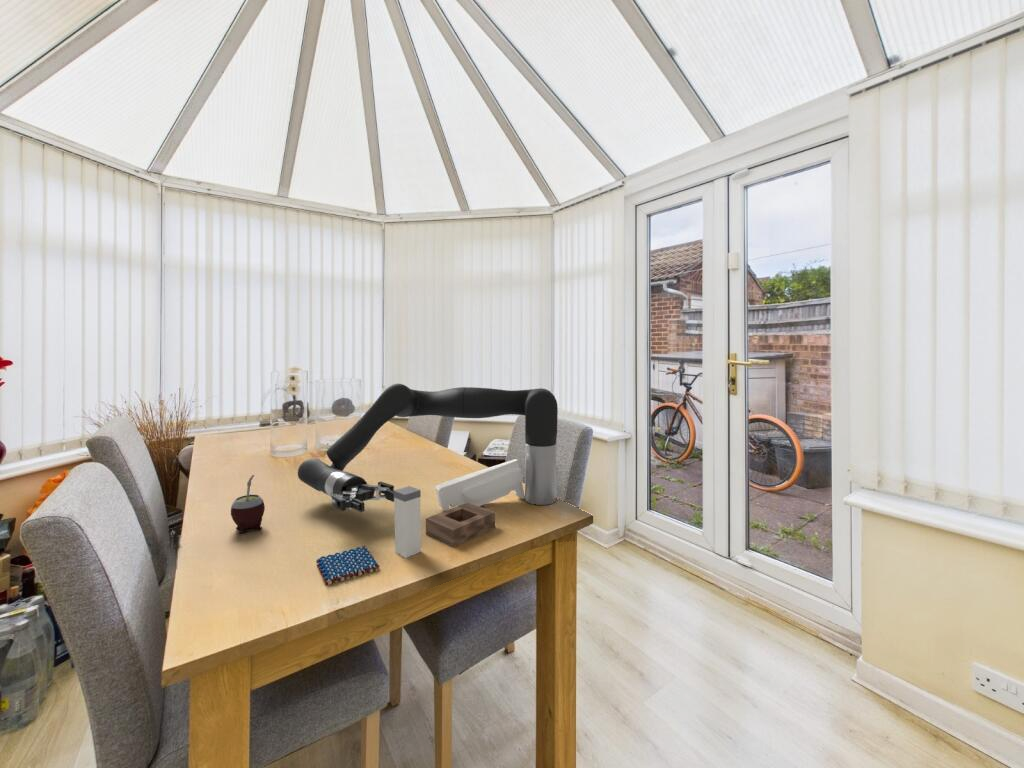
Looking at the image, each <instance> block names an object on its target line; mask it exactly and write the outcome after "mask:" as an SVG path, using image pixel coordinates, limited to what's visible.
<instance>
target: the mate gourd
mask: <svg viewBox="0 0 1024 768" xmlns="http://www.w3.org/2000/svg"><path fill="white" fill-rule="evenodd" d="M254 477H255V475H254V474H252V475H251V476H250V478H248V481H247V483H246V484H247V487H246V494H245V495H242V496H239V497H237V498H235V499H234V501H233V502H232V504H231V509H230V515H231V519H232V521H233V523H234V524H235V525H236V527H235V530H236V529H240V530H239V533H238V534H243V533H244V534H246V533H247V532H249V531H261V530H262V529H263V527H262V522H263V517H264V514H265V510H266V509H265V507H266V506H265V502H264V499H263V498H262V497H261V496H260V495H258V494H250V490H251V486H252V480H253V479H254ZM248 530H249V531H248ZM246 531H247V532H246ZM245 532H246V533H245ZM244 534H243V535H244Z"/></svg>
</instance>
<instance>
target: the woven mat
mask: <svg viewBox="0 0 1024 768" xmlns="http://www.w3.org/2000/svg"><path fill="white" fill-rule="evenodd" d="M315 563H316V566H317V568H318V569H319V573H320V574H321V576H322V579H323V581H324V584H325V585H327V586H328V585H329V586H330V585H333V583H335V584H336V583H339V581H340V582H344V581H345V579H346V580H350V578H351V577H352V578H353V579H356V578H357V576H358V577H361V576H363V574H364V575H367V574H368V572H369V573H373V572H374V571H376V572H377V571H379V568H380V565H379V563H378V562H377V560H376V559H375V557H374V556H373V555H372V554H371V552H370V551H369V550H368V548H367V547H366V546H365V545H363V546H358V547H356V548H349V549H348V550H343V551H341V552H335V553H332V554H328V555H322V556H320V557H319V558H317V559H316V562H315Z"/></svg>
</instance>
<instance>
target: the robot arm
mask: <svg viewBox="0 0 1024 768" xmlns="http://www.w3.org/2000/svg"><path fill="white" fill-rule="evenodd" d="M558 410H559V409H558V401H557V399H556V396H555V395H554V394H553V392H551V391H550V390H549V389H546V388H532V389H519V390H518V389H516V390H509V389H508V390H507V389H501V388H500V389H498V388H490V387H473V386H472V387H470V386H469V387H465V386H462V387H461V386H460V387H453V388H447V389H444V390H438V391H437V390H436V391H426V390H418V389H412V388H410V387H408V386H407V385H405V384H403V383H393V384H391V385H389V386H387V387H386V388H385V389H384V391H382V393H381V394H380V396H378V398H377V399H376V400H375V401H374V403H372V405H371V407H370V408H369V409H367V411H366V412H365V413H363V415H362V416H361V418H359V420H358V421H357V422H356V423H354V425H353V426H352V427H351V428H349V430H347V431H346V432H345V433H344V434H343V435H341V436H340V437H339V438H338V439H337V440H336V441H335V442H334V443H333V444H331V445H330V447H329V448H327V450H326V456H327V458H328V459H329V460H330V461H331V465H329V464H327V463H325V462H323V461H321V460H320V459H317V458H308V459H306V460H304V461H303V462H302V463H300V465H299V466H298V469H297V477H298V480H300V481H301V482H302V483H304V484H305V485H308V486H309V487H311V488H313V489H314V490H316V491H318V492H321V493H323V494H325V495H328V496H329V497H331V505H332V506H333V507H335V509H338V510H339V511H341V512H343V511H346V510H347V509H349V510H355V511H357V512H360V513H362V512H365V502H368V501H379V500H380V499H385V500H387V501H390V502H392V503H394V490H395V485H392V484H390V483H387V482H383V481H378V482H377V485H374V484H373V485H371V484H369V483H368V482H367V481H366V480H365V479H364V478H363V477H362V476H359V475H356V474H354V473H351V472H348V471H344V469H345V468H346V467H347V466H348V464H349V463H350V462H352V460H354V459H355V458H356V457H357V456H358V455H359V454H360V453H361V452H362V451H363V450H364V449H366V447H367V445H368V444H369V443H370V441H371V440H372V438H373V437H374V436H375V434H377V432H378V431H379V430H380V428H382V426H384V425H385V424H386V423H388V421H390V420H391V419H393V418H394V417H399V418H409V417H410V418H411V417H420V416H423V417H424V416H437V417H438V416H440V417H446V418H457V419H458V418H459V419H486V418H494V417H499V416H507V415H516V416H518V415H519V416H524V417H525V418H524V419H525V420H524V421H525V422H524V423H525V427H524V439H525V440H524V444H525V447H524V496H525V499H524V501H525V502H527V503H529V504H531V505H535V504H536V505H537V506H538V505H539V506H548V505H552V504H554V503H555V502H556V500H557V498H558V466H557V438H558V436H557V435H558V415H559V413H558V412H559V411H558ZM375 494H376V495H375Z"/></svg>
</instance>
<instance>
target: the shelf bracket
mask: <svg viewBox="0 0 1024 768" xmlns="http://www.w3.org/2000/svg"><path fill="white" fill-rule="evenodd" d="M519 465H520V464H519V459H517V458H514V459H512V460H508V461H505V462H502V463H499V464H496V465H493V466H490V467H487V468H484V469H483V468H482V469H480V470H477V471H474V472H471V473H468V474H464V475H461V476H459V477H457V478H453V479H450V480H447V481H445V482H442V483H439V484H437V485H436V486H435V492H436V496H437V501H438V506H439V507H440V508H441V509H442V510H444V511H447V510H449V509H452V508H455V507H457V506H460V505H463V504H465V503H471V504H474V505H477V506H479V507H482V506H484V505H486V504H488V503H491V502H493V501H496V500H499V499H500V498H503V497H506V496H508V495H509V494H510V493H511V492H512V491H513V494H514V495H515V496H516V497H518V498H519V499H522V500H524V499H523V498H525V489H524V486H523V482H524V478H523V472H522V468H520V466H519Z"/></svg>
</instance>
